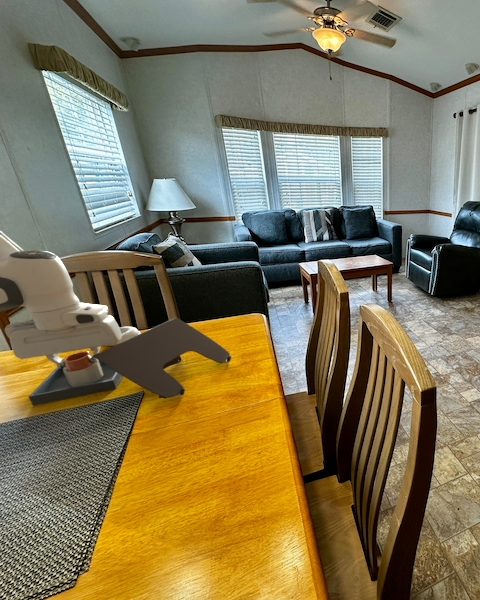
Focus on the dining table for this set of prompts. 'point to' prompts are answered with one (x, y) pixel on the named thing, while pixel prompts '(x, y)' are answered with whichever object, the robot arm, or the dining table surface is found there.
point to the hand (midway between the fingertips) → (80, 364)
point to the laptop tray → (160, 356)
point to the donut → (127, 334)
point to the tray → (60, 389)
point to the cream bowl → (84, 375)
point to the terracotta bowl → (77, 361)
